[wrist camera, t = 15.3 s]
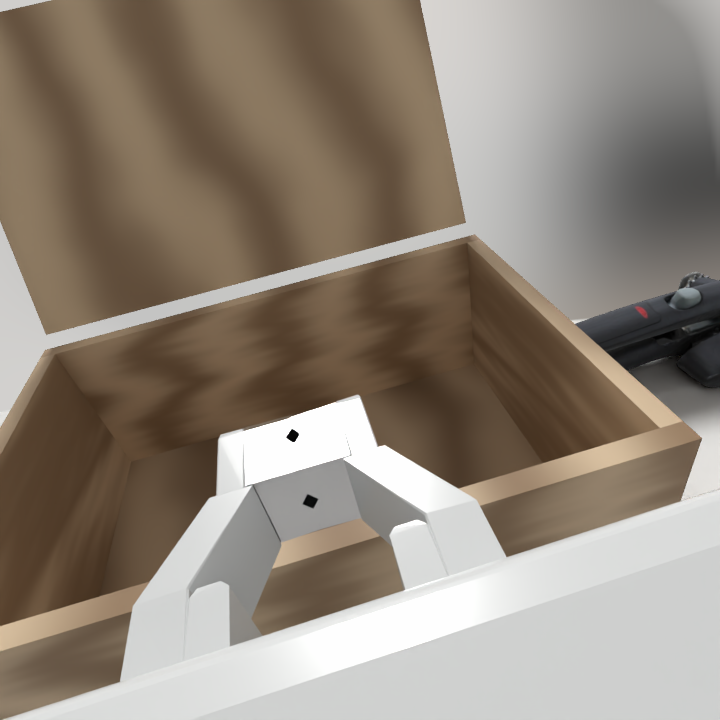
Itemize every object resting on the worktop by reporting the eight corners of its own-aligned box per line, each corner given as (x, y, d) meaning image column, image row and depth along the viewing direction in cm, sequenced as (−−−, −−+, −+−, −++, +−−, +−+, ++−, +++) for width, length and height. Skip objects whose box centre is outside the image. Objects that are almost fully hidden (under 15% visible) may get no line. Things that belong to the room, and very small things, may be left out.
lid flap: (-78, 29, 24) (-69, 35, 25) (46, 334, 28) (51, 333, 28) (403, -80, 26) (401, -72, 26) (465, 222, 29) (462, 223, 30)
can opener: (732, 317, 35) (756, 244, 31) (815, 377, 29) (855, 296, 26) (486, 366, 35) (484, 300, 32) (521, 435, 30) (522, 363, 26)
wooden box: (47, 789, 19) (-156, 698, 14) (127, 464, 34) (45, 350, 28) (647, 596, 21) (702, 438, 15) (480, 363, 35) (474, 234, 29)
